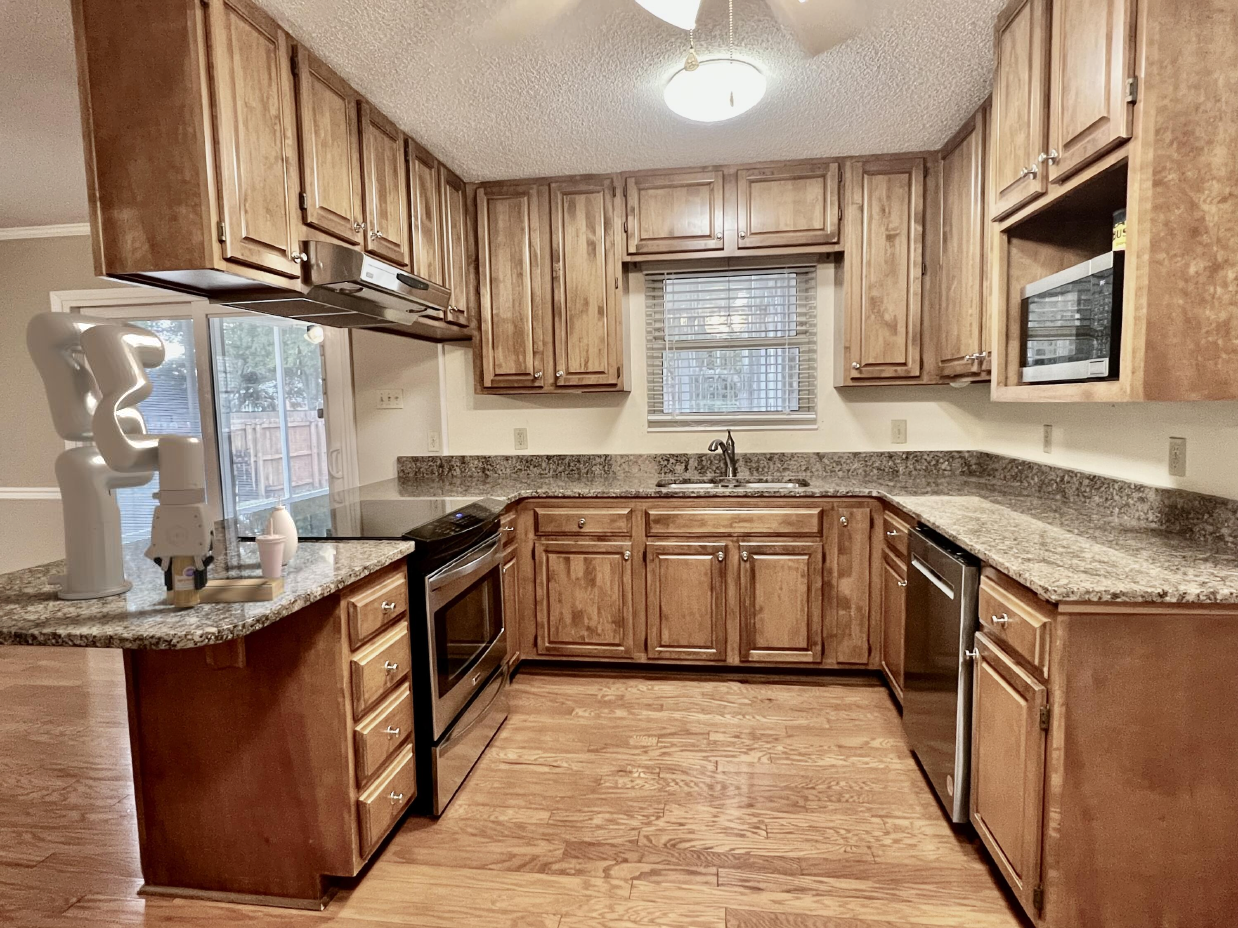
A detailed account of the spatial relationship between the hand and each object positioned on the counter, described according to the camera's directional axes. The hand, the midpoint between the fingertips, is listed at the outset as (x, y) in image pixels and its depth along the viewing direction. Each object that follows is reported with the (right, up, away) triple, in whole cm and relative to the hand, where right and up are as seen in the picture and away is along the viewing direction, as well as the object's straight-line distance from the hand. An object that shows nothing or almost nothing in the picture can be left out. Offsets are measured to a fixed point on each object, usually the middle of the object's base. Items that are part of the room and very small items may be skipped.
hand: (186, 587), depth 129 cm
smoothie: (+3, -3, +26) cm, 27 cm away
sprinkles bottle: (0, -4, 0) cm, 4 cm away
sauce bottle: (-1, -2, +39) cm, 39 cm away
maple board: (+4, -4, +8) cm, 9 cm away
